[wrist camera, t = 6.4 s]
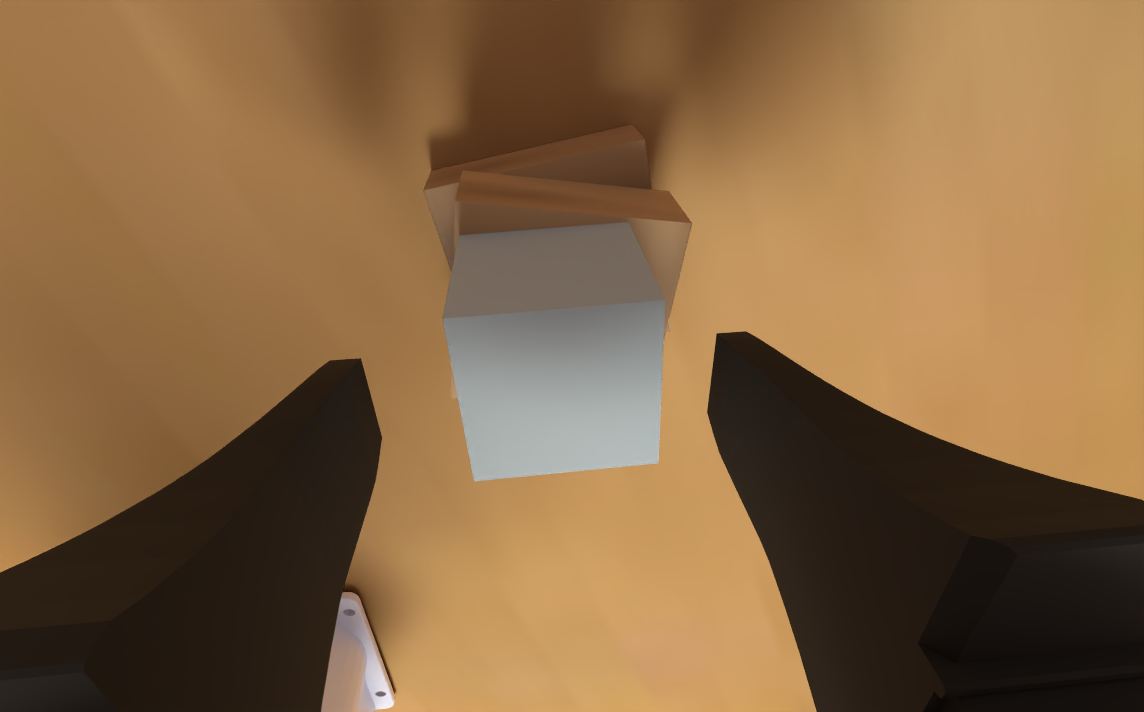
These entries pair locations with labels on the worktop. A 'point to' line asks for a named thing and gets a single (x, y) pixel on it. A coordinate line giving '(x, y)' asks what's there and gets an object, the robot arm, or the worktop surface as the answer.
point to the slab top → (576, 217)
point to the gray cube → (556, 350)
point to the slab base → (547, 171)
